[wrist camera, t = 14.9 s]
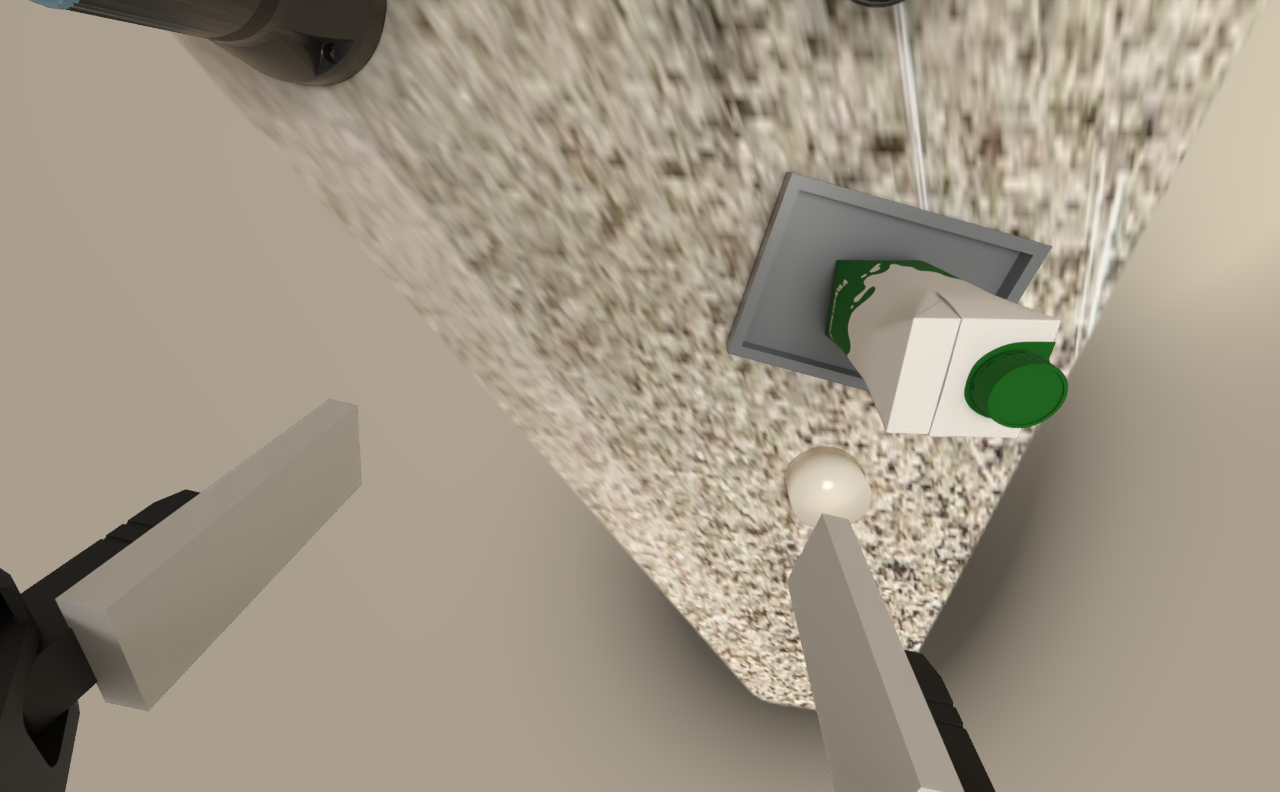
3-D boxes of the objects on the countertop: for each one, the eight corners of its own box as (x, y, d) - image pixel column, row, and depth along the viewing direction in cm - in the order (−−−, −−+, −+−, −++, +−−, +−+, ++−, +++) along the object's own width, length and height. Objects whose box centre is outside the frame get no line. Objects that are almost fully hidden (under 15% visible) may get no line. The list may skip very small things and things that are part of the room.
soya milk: (910, 345, 47) (1045, 466, 29) (811, 343, 48) (883, 459, 30) (934, 249, 43) (1106, 320, 25) (825, 248, 44) (918, 317, 26)
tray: (726, 343, 49) (728, 353, 47) (786, 171, 42) (792, 173, 40) (937, 401, 50) (949, 412, 48) (1033, 241, 43) (1052, 246, 40)
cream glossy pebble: (774, 495, 57) (779, 518, 53) (801, 437, 53) (808, 458, 50) (840, 512, 57) (850, 537, 54) (872, 456, 54) (885, 478, 50)
